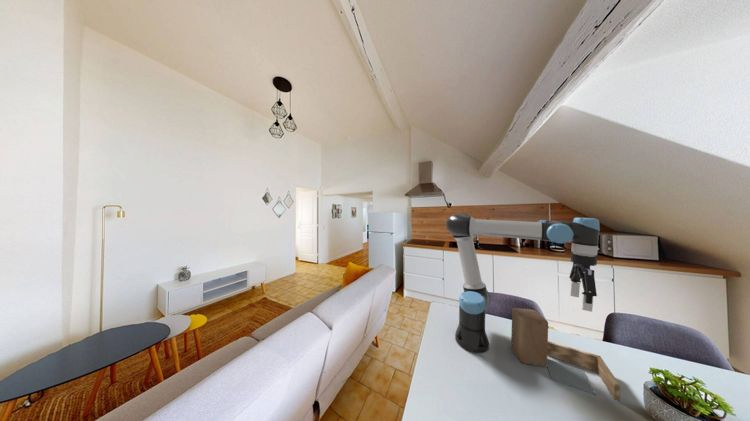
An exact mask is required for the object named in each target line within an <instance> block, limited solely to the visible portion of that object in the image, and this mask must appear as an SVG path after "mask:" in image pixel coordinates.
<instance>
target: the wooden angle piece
mask: <svg viewBox="0 0 750 421" xmlns="http://www.w3.org/2000/svg"><path fill="white" fill-rule="evenodd" d="M547 357H552V358H555V359H558V360H561V361H565V362H568V363H570V364H573V365H578V366H580V367H583V368H587V369H590V370H593V371H596V373H597V374H598V375H599V377H600V378H601V380H602V382H603V384H604V386H605V388H606V389H607V390H608V392H609V394H610V396H611V397H612V399H613V400H614V401H617V402H620V393H621V392H620V391H621V390H620V388H621V384H620V383H619V382H618V380H617V379H616V377H615V376H614V374H613V373H612V371H611V369H609V367H608V366H607V364H606V362H605V361H604V359H603V358H602V357H601V355H598V354H595V353H591V352H587V351H585V350H580V349H577V348H573V347H569V346H566V345H563V344H559V343H556V342H552V341H549V340H548V349H547Z"/></svg>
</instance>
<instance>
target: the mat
mask: <svg viewBox="0 0 750 421" xmlns="http://www.w3.org/2000/svg"><path fill="white" fill-rule="evenodd" d="M546 367H547V369H548V373H549V377H550V380H553V381H556V382H558V383H560V384H561V383H562V384H564V385H567V386H570V387H572V388H575V389H578V390H581V391H584V392H586V393H588V394H593V395H594V396H596V393H595V391H594V388H593V386H592V385H591V383H590V381H589V379H588V377H587V375H586V374H585V371H584V369H581V368H578V367H574V366H571V365H569V364H566V363H562V362H559V361H557V360H553V359H549V358H547V366H546Z"/></svg>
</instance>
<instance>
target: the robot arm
mask: <svg viewBox="0 0 750 421" xmlns="http://www.w3.org/2000/svg"><path fill="white" fill-rule="evenodd" d="M445 226H446V230H447V231H448V232H449V234H452V238H453V239H454V240H455V241H456V245H457V248H458V249H457V250H458V255H459V259H460V263H461V269H462V274H463V275H462V276H463V278H464V282H463V284H462V289H463V292H462V293H460V295H459V300H458V304H459V307H458V309H459V311H458V321H459V322H458V326H457V327H456V330H455V332H454V333H455V334H454V336H455V338H454V340H455V342H456V343H457V344H458V345H459V346H460V347H461V348H462V349H464V350H465V351H468V352H471V353H473V354H484V353H485V354H486V353H487V352H488V351H489V350H490V341H489V338H488V335H487V332H486V314H487V311H488V307H489V304H490V302H491V296H490V292H489V291H488V290H487V285H486V283H485V282H483V280H482V277H481V271H480V267H479V262H478V257H477V253H476V248H475V244H474V238H475V237H476V235H477V236H489V237H501V238H511V239H512V238H513V239H523V240H525V239H526V240H535V241H536V240H537V241H546V242H552V243H556V244H566V243H569V242H571V250H570V251H571V254H570V261H571V263H572V267H571V271H570V273H569V276H568V277H569V279H570V281H571V282H570V291H569V292H570V293H569V295H570V296H571V297H573V298H575V297H576V298H579V297H580V290H581V289H580V287H581V284H582V288H583V291H582V292H581V294H582V300H581V301H582V304H581V310H582V311H587V312H591V313H592V312H593V305H594V297H598V294H597V289H596V288H597V287H596V280H595V270H594V269H591V267H592V266H593V267H594V266H597V264H598V257H597V256H598V251H600V248H599V238H600V231H601V228H600V220H599V219H597V218H593V217H592V218H591V217H574V218H573V220H572V221H561V220H548V219H546V220H544V219H543V220H541V219H540V220H538V221H524V220H522V221H520V220H519V221H518V220H502V219H501V220H498V219H480V218H479V219H477V218H474V217H473V216H471V215H470V214H467V213H464V212H458V213H454V214H451V215H449V217H448V218H447V220H446V222H445Z"/></svg>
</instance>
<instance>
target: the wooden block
mask: <svg viewBox="0 0 750 421" xmlns="http://www.w3.org/2000/svg"><path fill="white" fill-rule="evenodd" d="M510 338H511V341H510V343H511V345H510V346H511V347H510V348H511V349H512V351H513V353H514V354H515V355H516V356H517V358H518V359H519V362H521V363H522V364H525V365H531V366H532V365H533V366H538V367H547V359H548V355H547V349H548V341H549V322H548V320H547V319H546V318H544V317H543V316H542V315H541V314H540V313H539V312H538V311H537V310H535V309H529V308H520V307H513V308H511V337H510Z"/></svg>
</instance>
